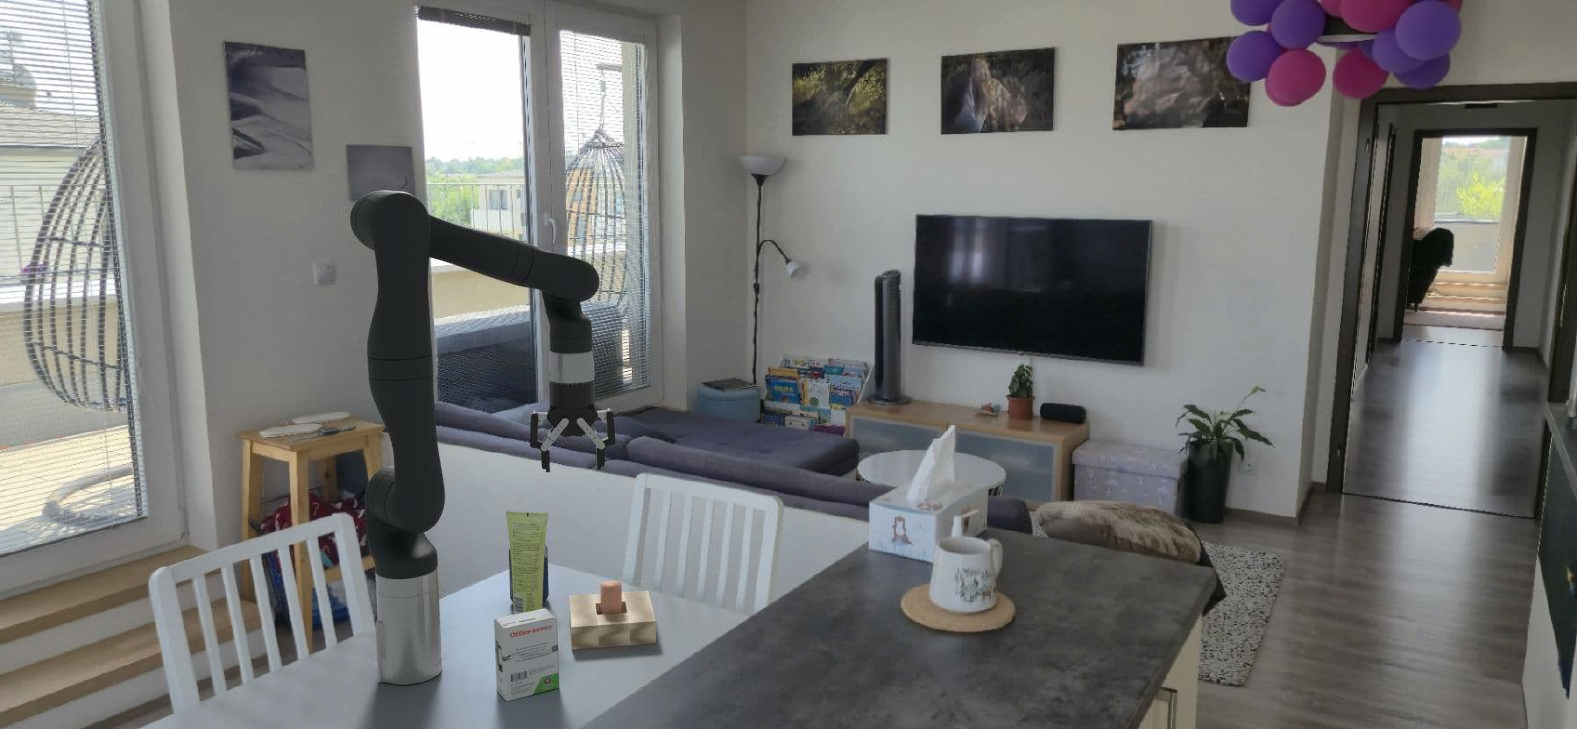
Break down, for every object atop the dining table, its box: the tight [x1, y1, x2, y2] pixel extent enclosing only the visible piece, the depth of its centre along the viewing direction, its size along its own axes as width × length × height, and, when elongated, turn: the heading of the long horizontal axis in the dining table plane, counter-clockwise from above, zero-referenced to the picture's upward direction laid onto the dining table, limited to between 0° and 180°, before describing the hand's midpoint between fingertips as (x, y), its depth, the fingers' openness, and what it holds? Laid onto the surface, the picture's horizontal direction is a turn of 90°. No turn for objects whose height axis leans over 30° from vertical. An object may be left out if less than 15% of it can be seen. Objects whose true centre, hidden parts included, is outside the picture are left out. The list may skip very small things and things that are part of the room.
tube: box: [505, 510, 549, 615], centre depth 196 cm, size 6×5×20 cm
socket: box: [568, 590, 657, 651], centre depth 193 cm, size 14×14×4 cm
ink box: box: [493, 607, 561, 702], centre depth 170 cm, size 9×5×12 cm, turn 123°
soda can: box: [508, 543, 550, 605], centre depth 204 cm, size 7×7×12 cm
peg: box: [599, 580, 623, 615], centre depth 192 cm, size 4×4×8 cm
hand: (573, 470), depth 190 cm, fingers open, 8 cm apart
